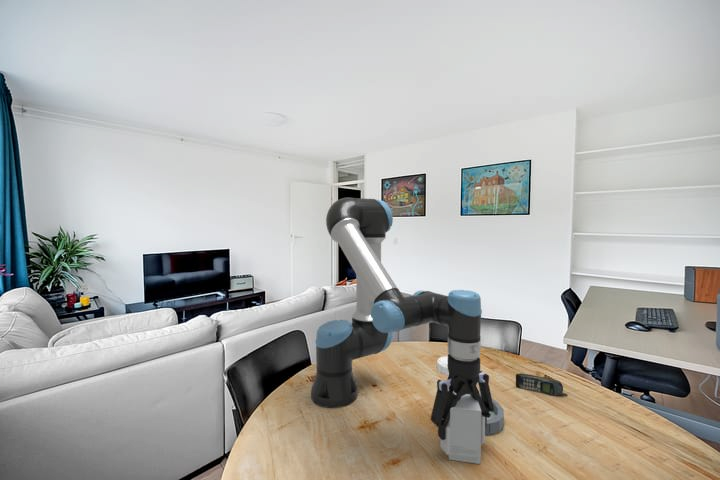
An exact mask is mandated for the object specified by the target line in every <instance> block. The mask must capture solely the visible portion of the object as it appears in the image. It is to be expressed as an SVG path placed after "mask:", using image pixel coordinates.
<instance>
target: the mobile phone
mask: <svg viewBox="0 0 720 480" xmlns="http://www.w3.org/2000/svg"><path fill="white" fill-rule="evenodd" d="M515 387H516V388H518V389H523V390H527V391H530V392H531V391H532V392H535V393H540V394H544V395H547V396H565V397H567V396H568V393H564V387H563V383H562V382H561V381H560V380H556V379H554V378H550V377H544V376H539V375H534V374H527V373H516V374H515Z"/></svg>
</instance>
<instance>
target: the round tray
mask: <svg viewBox="0 0 720 480" xmlns="http://www.w3.org/2000/svg"><path fill="white" fill-rule="evenodd" d="M453 393H455V392H454V391H453ZM469 395H470V394H469ZM479 395H480V397H481V393H480V392H479ZM481 399H482V398H481ZM492 402H493V407H494V411H493V412H491V411H490V412H489V413H490V414H491V416H490V417H489V418H487V425H486V427H485V437H486V436H493V435H496V434H499V433H500V432H501V431H502V430H503V429H504V425H505V422H504V421H505V419H504V418H505V414H504V413H505V412H504V408H503V406H502V405H501V404H500V403H499V402H498V401H497V400H495V399H493V398H492Z"/></svg>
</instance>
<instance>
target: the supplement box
mask: <svg viewBox="0 0 720 480" xmlns="http://www.w3.org/2000/svg"><path fill="white" fill-rule="evenodd" d="M453 393H454V392H453ZM454 394H455V395H456V393H454ZM448 426H449V427H450V454H449V455H447V456H448V460H451V461H455V462H464V463H470V464H477V465H480V464H481V463H482V443H481V408H480V405H479V403H478V401H477V400H476V399H474V398H473V397H471V395H469V394H465V395H464V396H461V399H460V400H459V401H457V404H456V406H455V407H452V408H451V409H450V420H449V422H448Z"/></svg>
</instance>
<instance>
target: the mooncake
mask: <svg viewBox="0 0 720 480" xmlns="http://www.w3.org/2000/svg"><path fill="white" fill-rule="evenodd" d="M436 369H437V370H438V372H440V373H442V374H443V375H446V376H449V371H448V355H444V356H440V357H438V359H437V360H436Z"/></svg>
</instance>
